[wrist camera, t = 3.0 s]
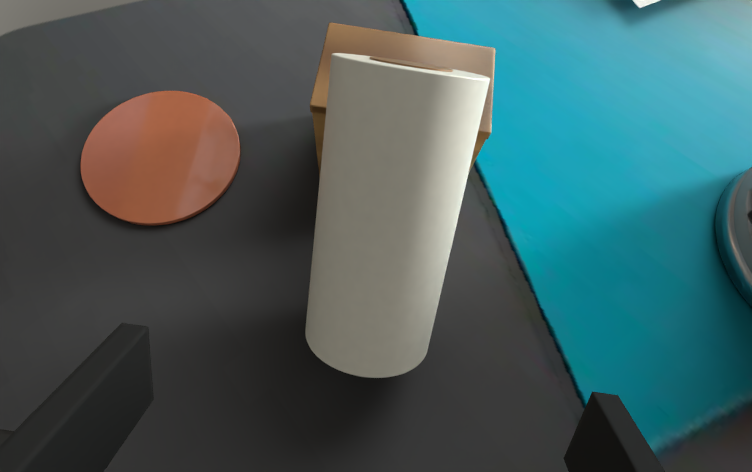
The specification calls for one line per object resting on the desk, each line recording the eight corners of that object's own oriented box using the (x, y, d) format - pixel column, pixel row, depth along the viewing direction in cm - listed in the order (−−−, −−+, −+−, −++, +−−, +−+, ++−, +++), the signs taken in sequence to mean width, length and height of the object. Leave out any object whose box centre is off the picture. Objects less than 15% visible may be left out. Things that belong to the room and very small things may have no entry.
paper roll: (417, 391, 28) (494, 369, 13) (301, 373, 28) (253, 333, 13) (438, 171, 34) (509, -11, 19) (343, 157, 34) (341, -38, 19)
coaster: (202, 73, 36) (201, 69, 35) (267, 180, 32) (266, 177, 32) (61, 131, 33) (57, 128, 33) (117, 254, 30) (114, 252, 29)
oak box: (456, 200, 33) (491, 133, 25) (318, 179, 33) (309, 105, 25) (462, 129, 35) (495, 47, 27) (332, 109, 35) (328, 21, 27)
